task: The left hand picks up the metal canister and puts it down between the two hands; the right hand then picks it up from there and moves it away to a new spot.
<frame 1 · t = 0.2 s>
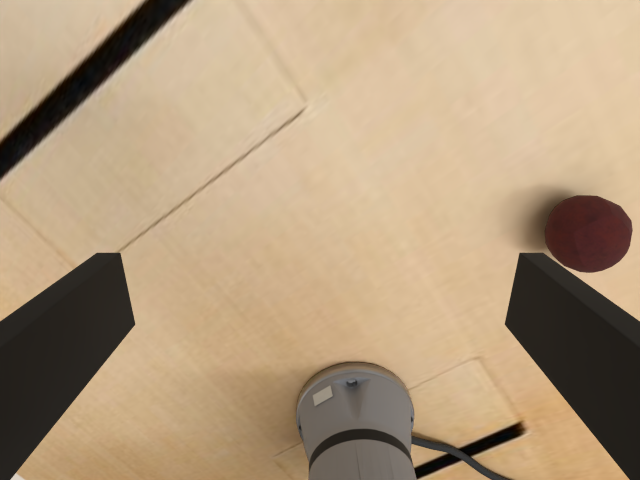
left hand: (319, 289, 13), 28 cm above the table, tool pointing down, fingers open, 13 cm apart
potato: (564, 221, 41), on the table
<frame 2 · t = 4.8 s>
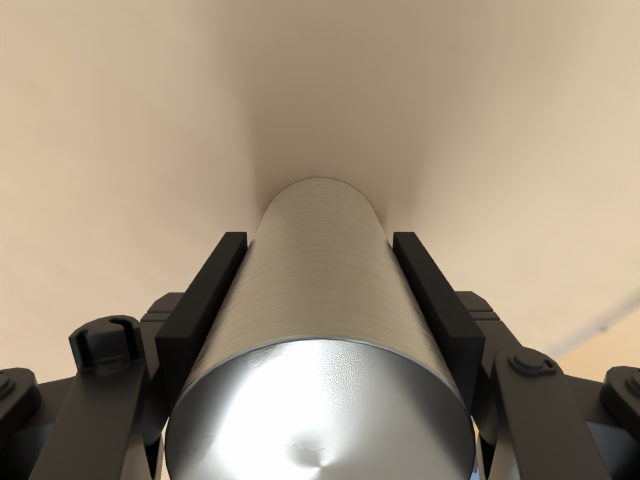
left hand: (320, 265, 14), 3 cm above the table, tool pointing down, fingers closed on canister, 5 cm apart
canister: (320, 236, 17), on the table, touching left hand
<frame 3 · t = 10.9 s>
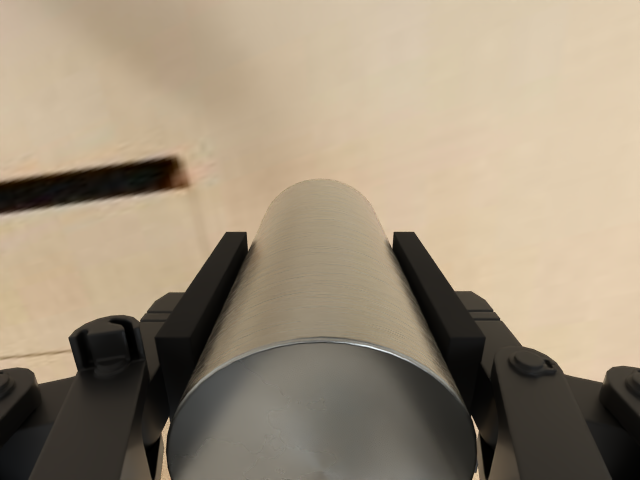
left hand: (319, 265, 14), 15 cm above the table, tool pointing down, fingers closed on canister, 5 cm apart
canister: (320, 237, 17), point 12 cm above the table, touching left hand
when the left hand's fingers open (4 cm above the table, at t = 17.5 s): canister drops 1 cm, on the table.
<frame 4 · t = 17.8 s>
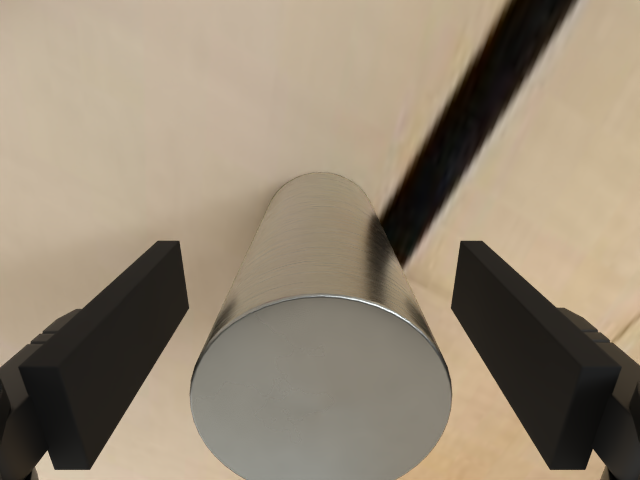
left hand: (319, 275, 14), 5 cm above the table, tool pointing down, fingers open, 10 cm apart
canister: (320, 227, 19), on the table
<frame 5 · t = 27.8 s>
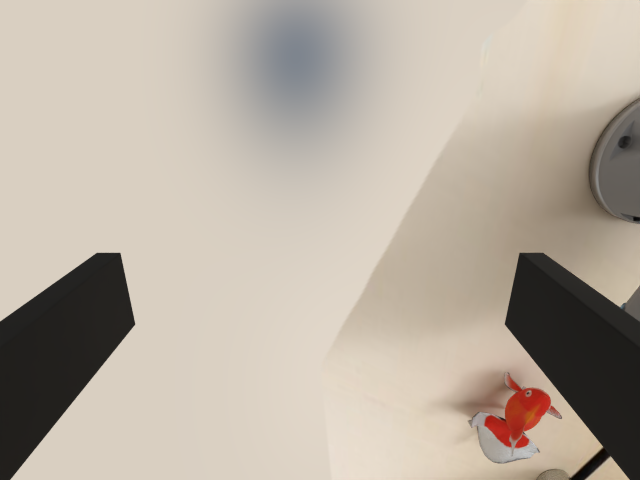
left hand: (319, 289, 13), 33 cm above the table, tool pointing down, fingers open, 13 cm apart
fish: (499, 403, 57), on the table
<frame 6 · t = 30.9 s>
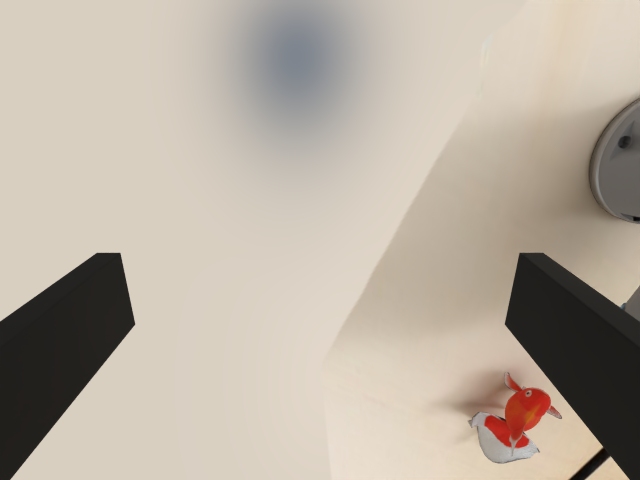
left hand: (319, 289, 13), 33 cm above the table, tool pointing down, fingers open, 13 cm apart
fish: (499, 403, 57), on the table
when the right hand's fingers open (4 cm above the table, at t = 34.3 s): canister drops 1 cm, on the table.
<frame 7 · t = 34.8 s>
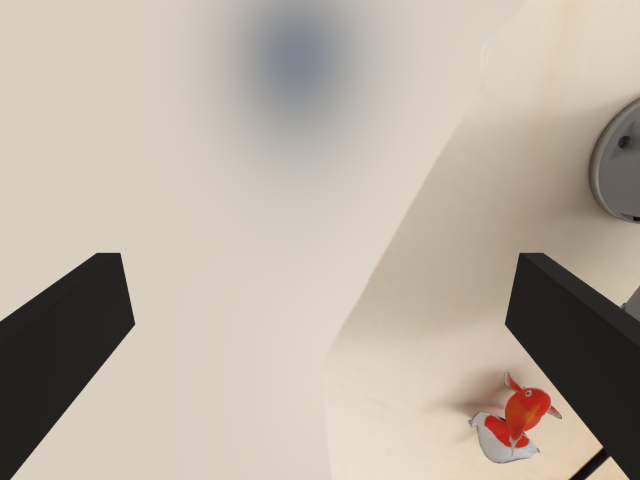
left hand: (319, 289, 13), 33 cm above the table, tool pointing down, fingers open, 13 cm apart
fish: (499, 403, 57), on the table
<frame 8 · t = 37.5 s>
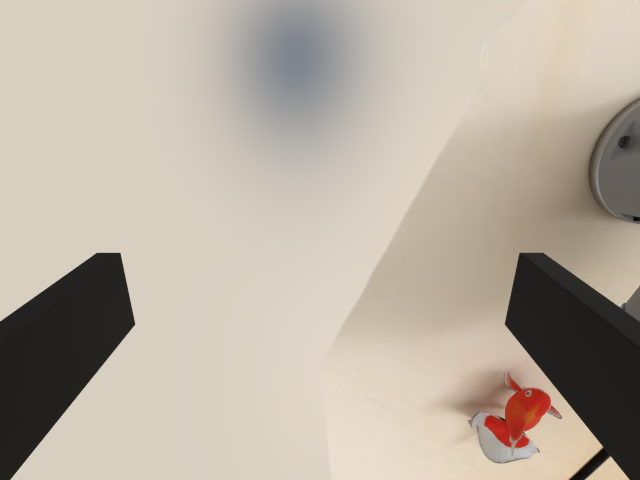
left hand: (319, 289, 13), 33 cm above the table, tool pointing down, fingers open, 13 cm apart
fish: (499, 403, 57), on the table
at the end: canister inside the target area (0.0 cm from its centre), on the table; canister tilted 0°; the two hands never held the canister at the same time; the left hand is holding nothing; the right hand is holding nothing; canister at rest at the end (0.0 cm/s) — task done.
